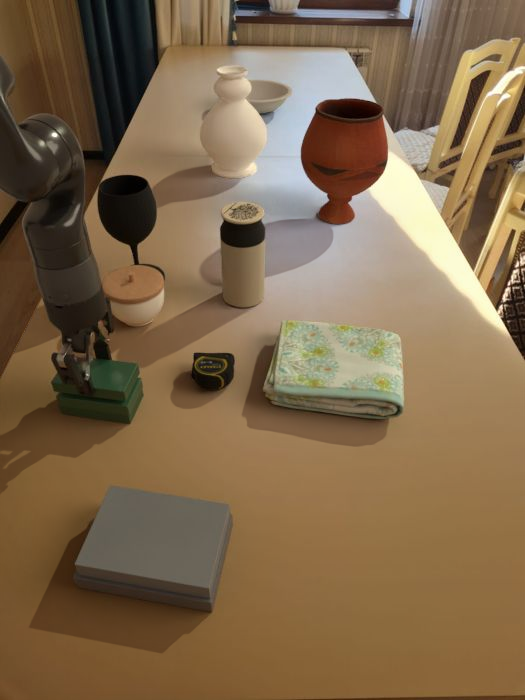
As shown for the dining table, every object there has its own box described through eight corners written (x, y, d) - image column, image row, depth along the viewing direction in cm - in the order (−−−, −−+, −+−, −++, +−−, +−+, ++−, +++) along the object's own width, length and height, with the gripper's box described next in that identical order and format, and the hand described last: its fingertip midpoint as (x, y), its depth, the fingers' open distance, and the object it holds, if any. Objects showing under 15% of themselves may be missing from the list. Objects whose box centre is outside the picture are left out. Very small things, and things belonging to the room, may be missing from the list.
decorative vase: (261, 185, 142) (262, 82, 125) (195, 179, 144) (187, 78, 127) (271, 158, 155) (273, 62, 138) (210, 153, 157) (205, 58, 140)
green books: (60, 414, 82) (54, 396, 79) (77, 386, 86) (72, 368, 84) (131, 424, 80) (127, 406, 78) (145, 395, 85) (141, 377, 82)
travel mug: (271, 293, 106) (274, 208, 94) (248, 314, 101) (247, 227, 89) (239, 280, 109) (237, 196, 97) (214, 299, 104) (209, 213, 92)
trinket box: (127, 342, 94) (118, 299, 88) (98, 313, 100) (88, 270, 94) (179, 318, 99) (174, 276, 93) (149, 292, 105) (142, 250, 99)
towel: (278, 333, 97) (279, 310, 93) (399, 347, 94) (404, 324, 91) (261, 407, 83) (261, 384, 80) (401, 426, 81) (407, 403, 77)
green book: (54, 391, 79) (50, 382, 77) (71, 364, 83) (68, 354, 82) (126, 401, 77) (123, 392, 76) (140, 372, 82) (138, 363, 80)
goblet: (386, 207, 133) (405, 100, 117) (363, 243, 120) (381, 129, 104) (313, 191, 139) (322, 88, 123) (284, 224, 126) (289, 113, 109)
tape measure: (235, 365, 90) (235, 348, 88) (233, 395, 85) (232, 378, 83) (194, 364, 90) (192, 347, 88) (189, 394, 85) (187, 377, 83)
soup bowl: (260, 94, 198) (260, 75, 193) (306, 112, 184) (307, 91, 180) (207, 108, 186) (206, 87, 182) (251, 128, 173) (251, 106, 168)
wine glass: (148, 259, 114) (134, 167, 101) (175, 281, 108) (164, 187, 95) (103, 276, 109) (83, 182, 96) (129, 300, 103) (110, 204, 90)
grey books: (77, 587, 62) (67, 567, 59) (112, 505, 70) (105, 482, 67) (212, 612, 60) (210, 592, 57) (233, 524, 68) (232, 502, 65)
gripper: (67, 252, 74) (92, 344, 85) (14, 316, 64) (50, 411, 75) (119, 257, 73) (137, 349, 85) (74, 323, 63) (102, 418, 74)
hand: (96, 378), depth 80 cm, fingers closed on green book, 6 cm apart
